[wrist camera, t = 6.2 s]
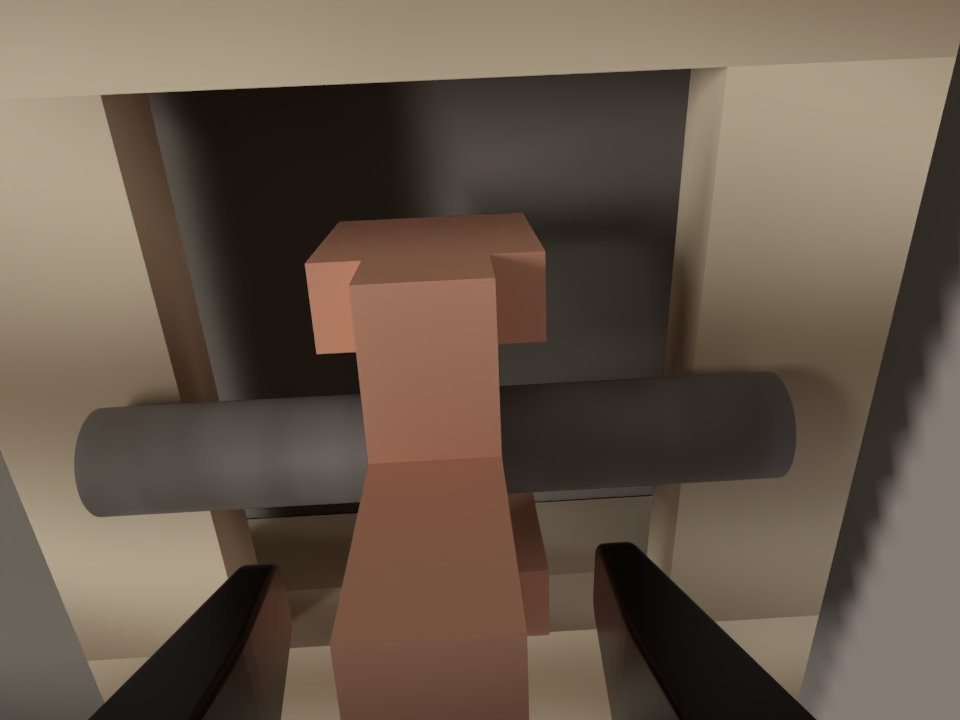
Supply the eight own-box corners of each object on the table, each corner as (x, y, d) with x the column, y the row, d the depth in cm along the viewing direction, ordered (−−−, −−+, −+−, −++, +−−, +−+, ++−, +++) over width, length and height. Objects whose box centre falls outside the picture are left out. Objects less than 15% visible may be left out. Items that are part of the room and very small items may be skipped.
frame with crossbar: (724, 611, 19) (820, 822, 14) (195, 644, 19) (110, 872, 14) (864, -249, 11) (1200, -436, 6) (-69, -217, 11) (-501, -388, 6)
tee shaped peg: (529, 525, 14) (603, 931, 7) (373, 534, 14) (303, 953, 7) (522, 212, 12) (620, 376, 5) (338, 221, 12) (192, 400, 5)
